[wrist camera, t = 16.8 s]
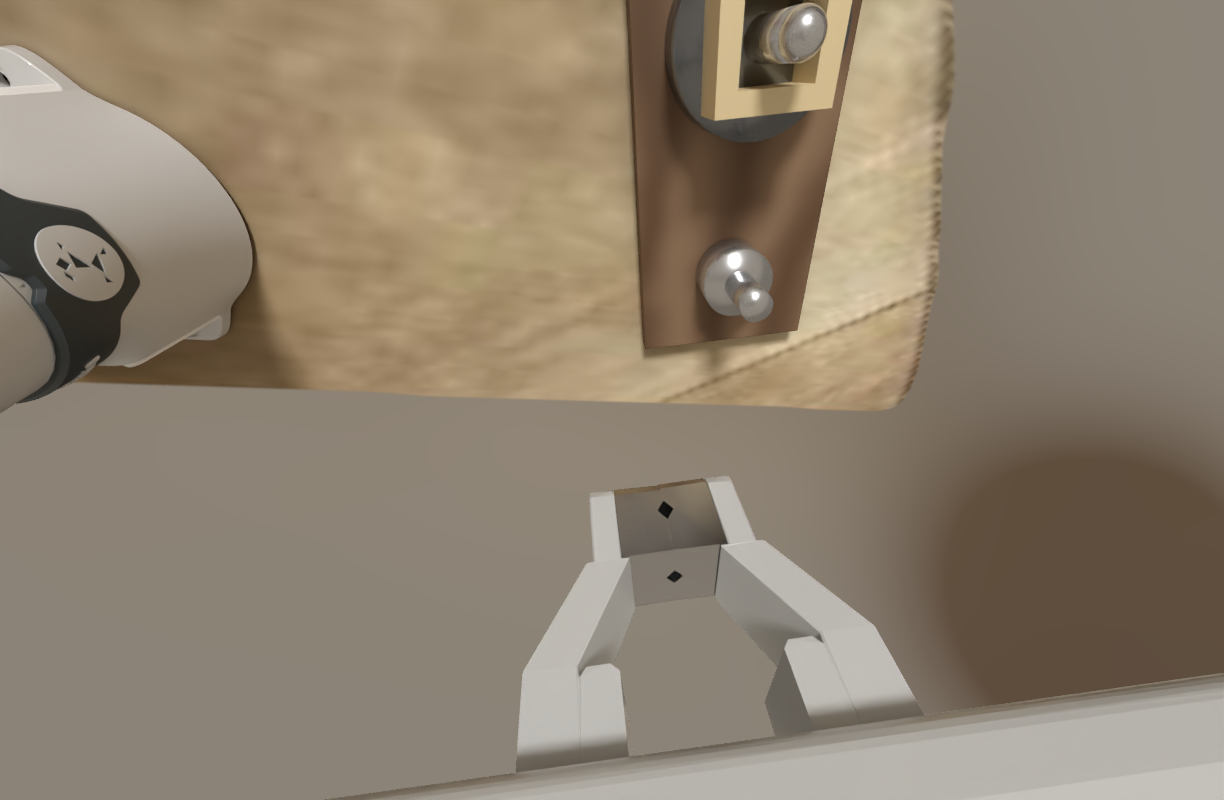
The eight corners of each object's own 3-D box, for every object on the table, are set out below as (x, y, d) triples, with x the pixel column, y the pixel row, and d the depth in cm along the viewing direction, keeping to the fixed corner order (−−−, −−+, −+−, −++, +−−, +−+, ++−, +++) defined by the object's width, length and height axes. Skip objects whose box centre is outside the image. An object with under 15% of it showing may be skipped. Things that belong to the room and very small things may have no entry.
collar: (700, 116, 26) (714, 120, 24) (705, -37, 22) (723, -50, 20) (807, 104, 26) (832, 107, 24) (832, -50, 22) (864, -64, 20)
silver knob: (694, 303, 37) (718, 344, 32) (696, 242, 34) (723, 276, 28) (754, 296, 37) (788, 336, 32) (762, 234, 34) (801, 266, 29)
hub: (665, 144, 30) (698, 168, 23) (663, -67, 24) (707, -126, 16) (809, 128, 30) (887, 147, 23) (843, -86, 24) (966, -153, 17)
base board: (643, 340, 41) (645, 349, 39) (621, -110, 24) (624, -119, 22) (790, 322, 41) (797, 330, 40) (874, -136, 24) (890, -146, 23)
